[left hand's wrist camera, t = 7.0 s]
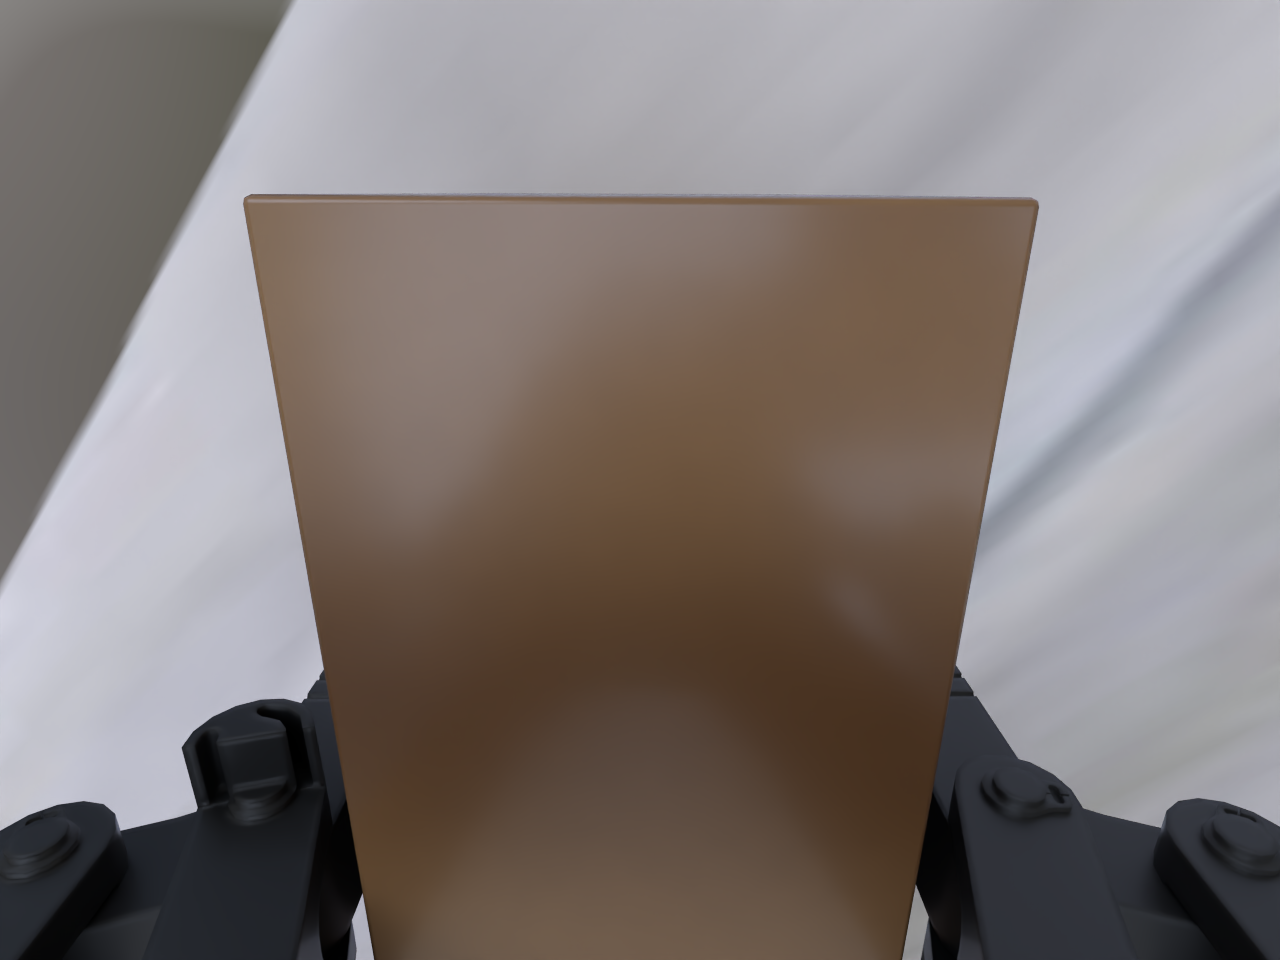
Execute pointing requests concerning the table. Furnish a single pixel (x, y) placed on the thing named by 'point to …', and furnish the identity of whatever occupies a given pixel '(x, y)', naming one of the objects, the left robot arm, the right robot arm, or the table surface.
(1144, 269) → the table surface
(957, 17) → the table surface
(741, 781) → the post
